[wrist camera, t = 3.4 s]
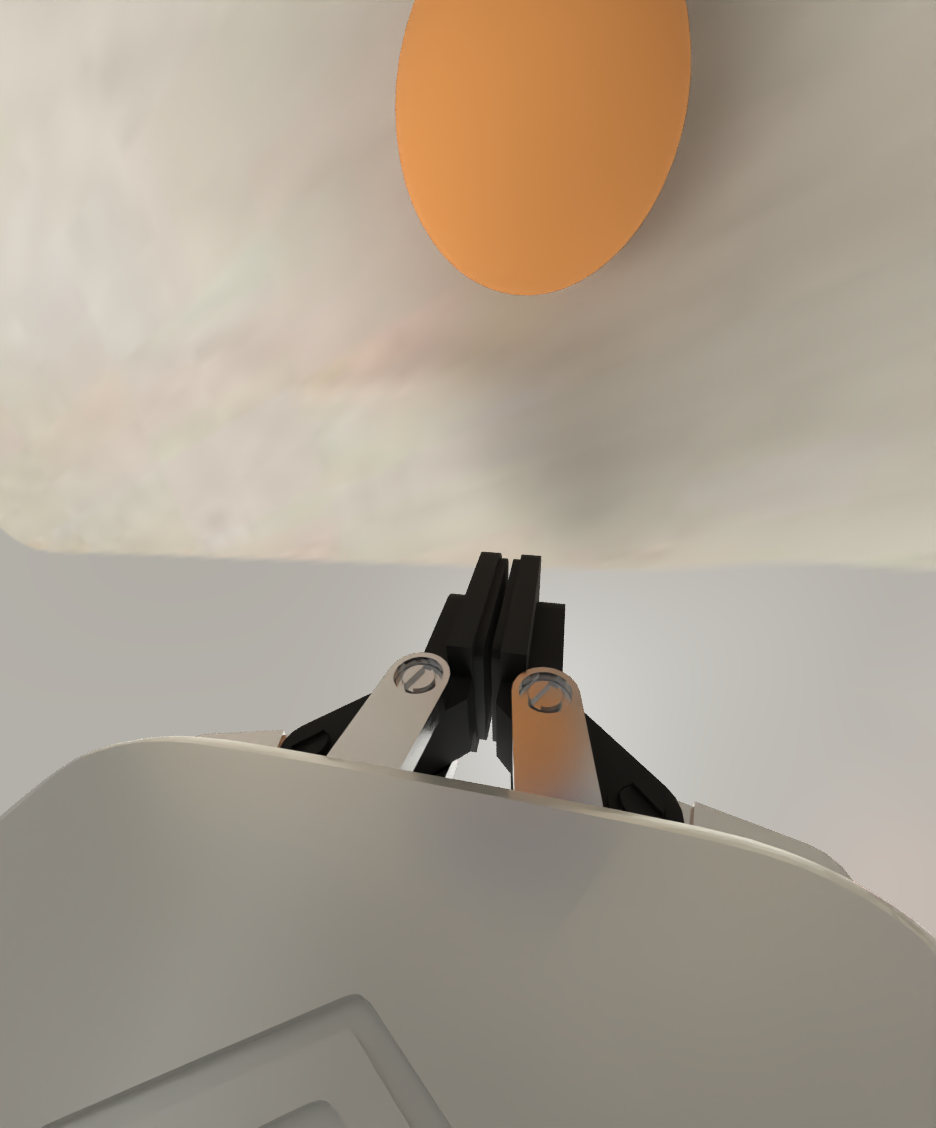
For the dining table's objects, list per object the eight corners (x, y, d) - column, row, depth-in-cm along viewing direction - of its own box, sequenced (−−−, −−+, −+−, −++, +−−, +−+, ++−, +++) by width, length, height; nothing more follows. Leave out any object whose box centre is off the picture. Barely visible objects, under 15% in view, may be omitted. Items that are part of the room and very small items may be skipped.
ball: (431, 18, 9) (303, -207, 5) (689, -32, 8) (800, -370, 4) (447, 298, 12) (374, 304, 8) (642, 288, 11) (680, 288, 7)
